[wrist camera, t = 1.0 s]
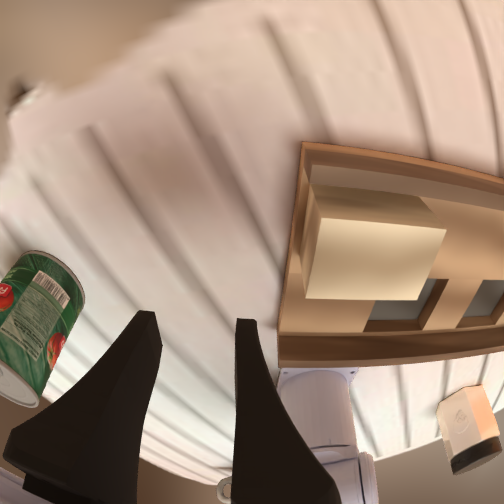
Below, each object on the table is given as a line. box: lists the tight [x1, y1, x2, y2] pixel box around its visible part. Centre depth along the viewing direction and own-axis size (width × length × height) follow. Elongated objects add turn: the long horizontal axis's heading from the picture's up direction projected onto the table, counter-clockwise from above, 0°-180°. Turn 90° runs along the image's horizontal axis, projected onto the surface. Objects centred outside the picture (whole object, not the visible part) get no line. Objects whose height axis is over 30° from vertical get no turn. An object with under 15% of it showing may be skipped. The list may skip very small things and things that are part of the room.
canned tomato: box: [0, 251, 85, 408], centre depth 21 cm, size 8×8×11 cm
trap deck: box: [277, 142, 504, 368], centre depth 21 cm, size 16×26×4 cm, turn 87°
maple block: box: [299, 184, 447, 300], centre depth 17 cm, size 5×7×4 cm
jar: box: [436, 385, 502, 475], centre depth 33 cm, size 9×8×12 cm
